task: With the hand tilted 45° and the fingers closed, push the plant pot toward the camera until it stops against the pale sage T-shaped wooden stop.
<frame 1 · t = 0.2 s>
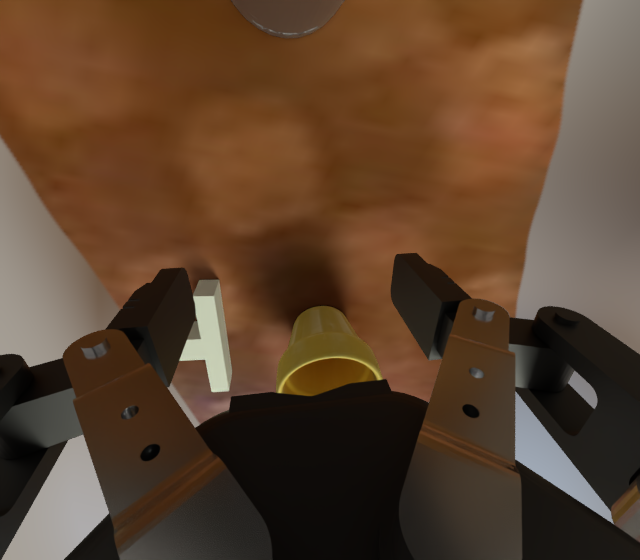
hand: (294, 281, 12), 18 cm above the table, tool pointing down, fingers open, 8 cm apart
t stop: (217, 330, 35), on the table
plant pot: (319, 325, 37), on the table
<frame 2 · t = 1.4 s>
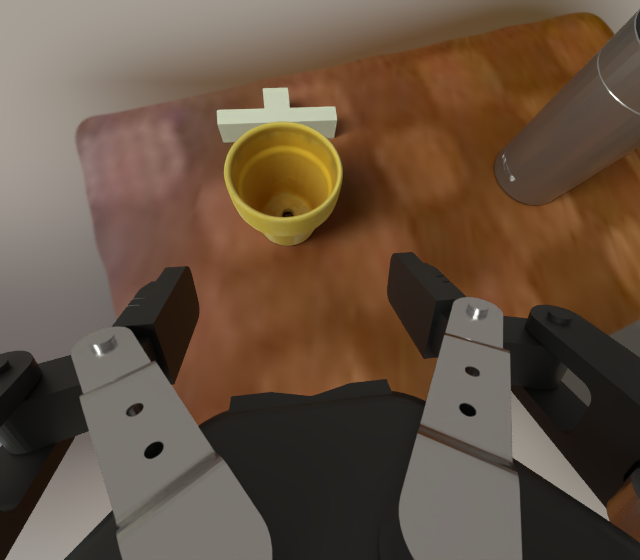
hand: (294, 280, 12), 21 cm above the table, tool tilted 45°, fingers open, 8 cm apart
t stop: (279, 133, 39), on the table
plant pot: (287, 219, 36), on the table
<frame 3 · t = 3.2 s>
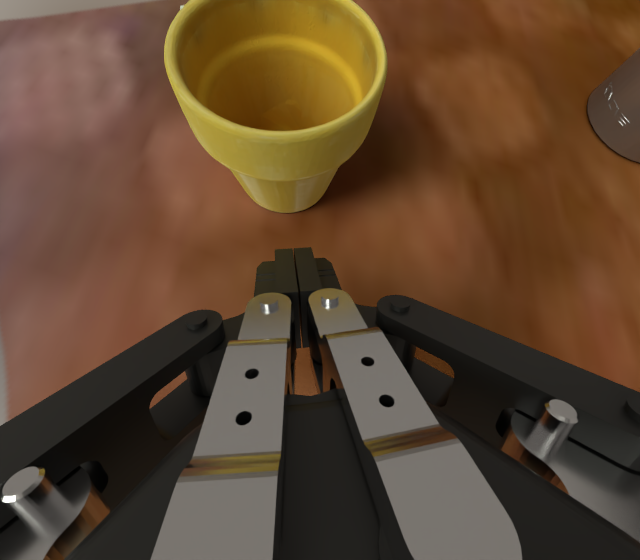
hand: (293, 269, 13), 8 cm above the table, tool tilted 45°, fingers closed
plant pot: (285, 175, 23), on the table
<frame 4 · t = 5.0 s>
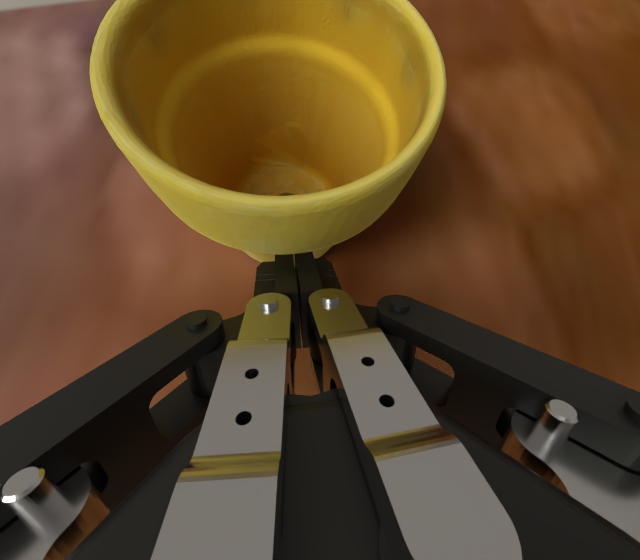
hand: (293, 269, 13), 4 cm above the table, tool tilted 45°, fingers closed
plant pot: (285, 215, 18), on the table, touching gripper
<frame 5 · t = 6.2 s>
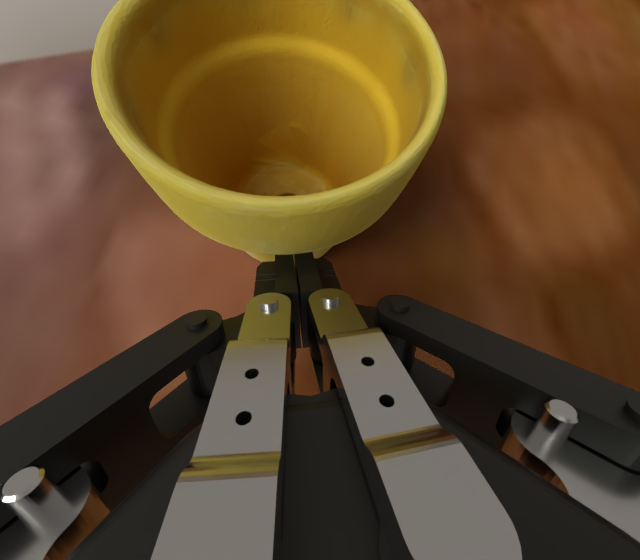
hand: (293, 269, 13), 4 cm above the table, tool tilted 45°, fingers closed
plant pot: (286, 215, 18), on the table, touching gripper
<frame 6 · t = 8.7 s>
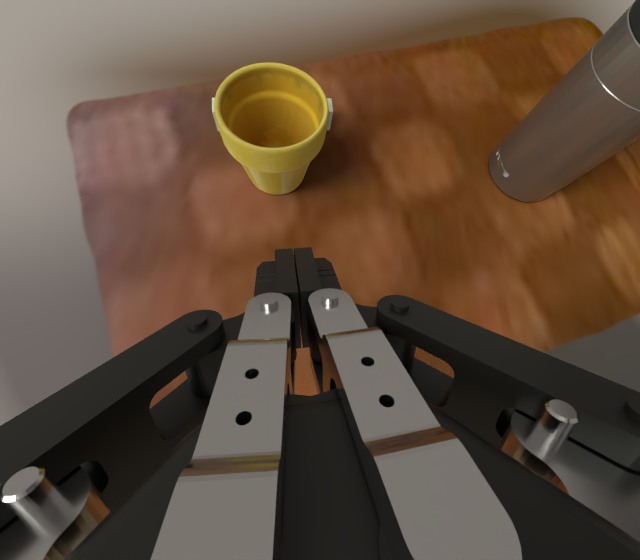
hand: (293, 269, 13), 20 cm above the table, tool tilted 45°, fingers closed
plant pot: (276, 171, 37), on the table
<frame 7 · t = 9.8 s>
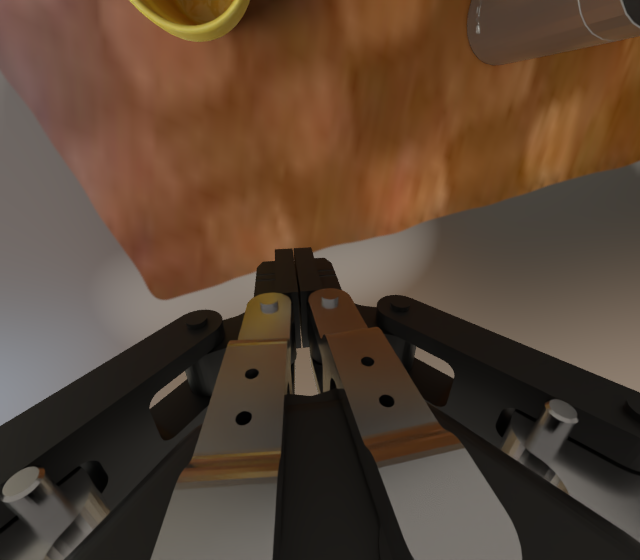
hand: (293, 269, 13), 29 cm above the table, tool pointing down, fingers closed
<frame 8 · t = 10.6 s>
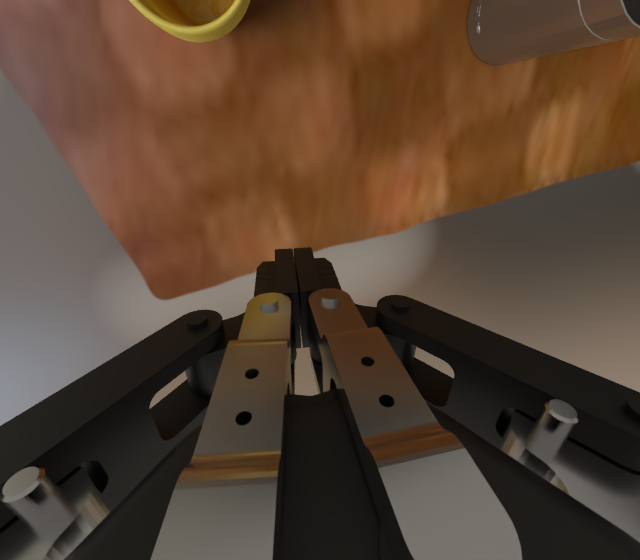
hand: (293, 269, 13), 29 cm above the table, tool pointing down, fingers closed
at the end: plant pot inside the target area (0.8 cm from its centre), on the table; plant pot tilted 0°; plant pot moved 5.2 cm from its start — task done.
